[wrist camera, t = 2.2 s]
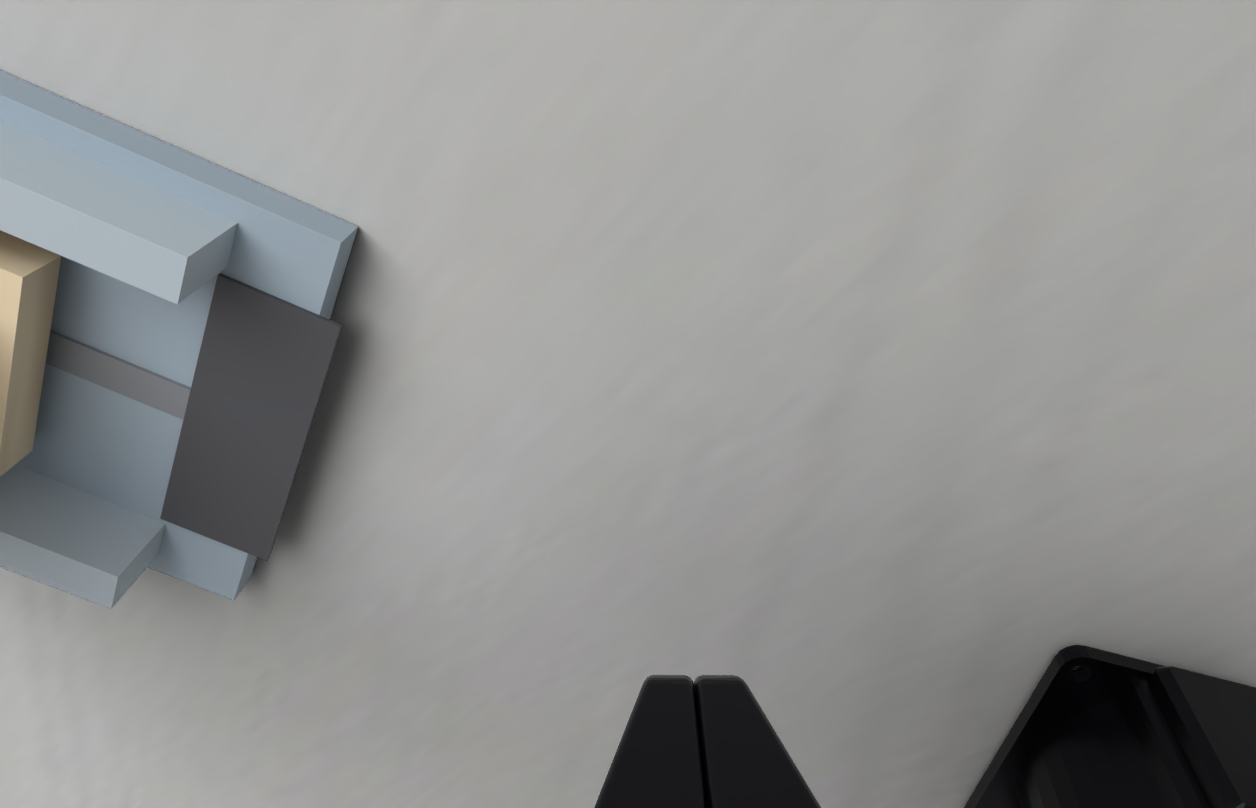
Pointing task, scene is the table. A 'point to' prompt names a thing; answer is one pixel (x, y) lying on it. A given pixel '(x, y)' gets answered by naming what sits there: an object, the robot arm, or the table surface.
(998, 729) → the table surface
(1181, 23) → the table surface
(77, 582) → the trough board
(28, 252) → the wooden block
